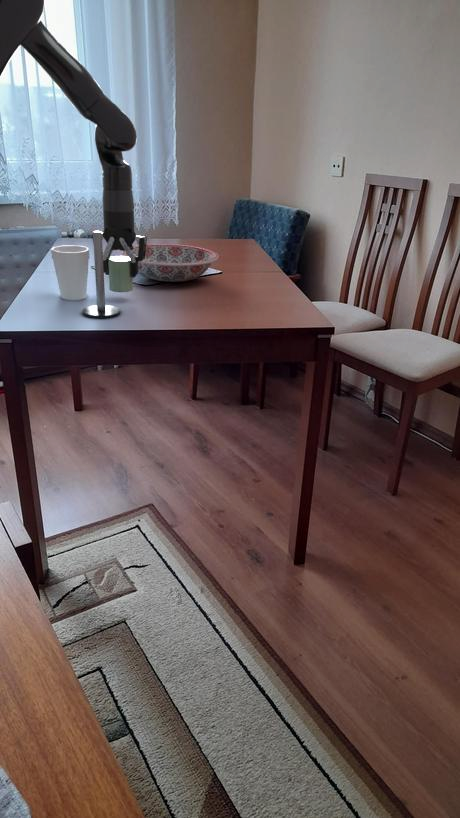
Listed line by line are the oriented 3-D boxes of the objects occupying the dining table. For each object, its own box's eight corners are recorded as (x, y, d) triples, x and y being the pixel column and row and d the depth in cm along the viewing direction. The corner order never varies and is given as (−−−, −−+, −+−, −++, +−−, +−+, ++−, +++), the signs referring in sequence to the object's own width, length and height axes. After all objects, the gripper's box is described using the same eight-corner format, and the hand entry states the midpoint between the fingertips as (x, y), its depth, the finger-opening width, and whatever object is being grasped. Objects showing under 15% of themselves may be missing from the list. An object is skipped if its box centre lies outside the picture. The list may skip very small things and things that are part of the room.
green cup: (129, 293, 143) (128, 262, 140) (105, 290, 144) (104, 259, 140) (136, 287, 149) (135, 257, 145) (113, 285, 149) (112, 255, 146)
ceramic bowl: (227, 291, 163) (228, 264, 159) (127, 292, 156) (126, 264, 152) (206, 268, 188) (207, 244, 184) (119, 268, 181) (118, 243, 177)
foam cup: (79, 305, 143) (75, 254, 137) (48, 300, 146) (43, 250, 140) (98, 296, 151) (95, 247, 145) (69, 291, 154) (65, 243, 148)
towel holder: (112, 322, 133) (108, 236, 124) (77, 318, 134) (70, 233, 125) (125, 311, 141) (122, 230, 132) (91, 307, 142) (86, 227, 133)
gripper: (84, 207, 135) (89, 276, 142) (141, 212, 133) (143, 281, 140) (96, 204, 141) (99, 269, 149) (150, 208, 139) (151, 274, 147)
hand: (120, 275), depth 145 cm, fingers closed on green cup, 6 cm apart
